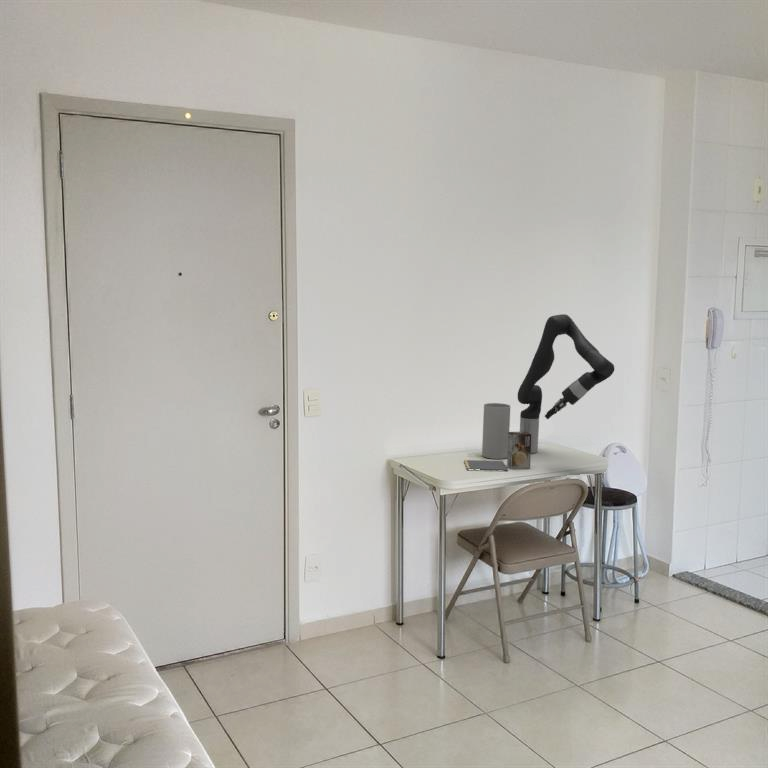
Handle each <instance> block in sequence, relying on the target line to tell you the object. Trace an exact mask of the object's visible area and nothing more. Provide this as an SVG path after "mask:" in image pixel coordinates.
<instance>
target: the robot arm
mask: <svg viewBox="0 0 768 768" xmlns="http://www.w3.org/2000/svg"><path fill="white" fill-rule="evenodd" d="M562 335H563V336H564V335H567V336H568V337H570V339H571V340H572V342H573V344H574V348H575V351H576V353H577V354H578V355H579V356H580V357H581V358H582V359H583V360H584V361H586V363H588V364H589V366H590V368H591V369H593V370H592V371H587V372H586V371H585V373H583V374H581V375H580V377H579V378H577V379H576V380H574V381H572V383H570V385H568V386H567V387H566V388H565V389H564V390H563V391H562V392H561V396H562V398H561V397H560V398H559V399H558V400H557V401H556V402H555V403H554V404H553V406H552V408H550V409H549V410H548V411H547V412H546V414H544V418H545V419H546V420H549V419H551V417H553V415H556V414H557V413H558V412H561V410H562V409H564V408H566V407H567V405H568V404H567V403H569V404H570V405H572V406H573V405H575V404H576V403H577V402H579V400H581V399H582V398H584V396H585V395H586V394H587V393H588V392H589V391H590V390H592V389H593V388H594V387H595V386H597V385H598V384H600V383H602V382H604V381H606V380H607V379H609V378H610V377H611V376H612V375H613V374H614V372H615V365H614V364H613V363H612V362H611V360H609V359H607V358H606V357H605V356H604V355H602V353H600V351H599V350H598V348H596V347H595V346H594V345H593V343H591V342H590V341H589V340H588V339H587V337H585V336H584V334H583V332H582V331H581V330H580V328H579V327H578V326H577V324H576V323H575V322H574V320H573V318H571V317H570V315H568V314H561V313H560V314H555V315H552V316H549V317H548V319H547V320H546V321H545V324H544V329H543V331H542V335H541V338H540V341H539V345H538V347H537V349H536V352H535V354H534V356H533V359H532V361H531V364H530V366H529V369H528V371H527V373H526V375H525V377H524V379H523V381H522V382H521V384H520V386H519V389H518V391H517V402H519V403H520V404H522V405H528V406H527V407H526V408H525V409H522V410H521V411H520V416H519V421H520V422H519V432H528V433H530V434H531V454H537V453H538V450H539V448H538V447H539V431H540V414H541V412H542V403H543V390H542V388H541V387H540V385H537V384H536V383H538V382H539V381H540V380H541V379H542V378H543V377H544V376H546V375H547V374H548V373H549V371H550V370H551V368H552V366H553V363H554V362H555V361H554V360H555V350H554V347H553V346H554V343H555V341H556V339H557V337H558V336H562Z"/></svg>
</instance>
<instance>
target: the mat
mask: <svg viewBox="0 0 768 768" xmlns="http://www.w3.org/2000/svg"><path fill="white" fill-rule="evenodd" d="M464 462H465V463H464ZM463 463H464V465H465V464H466V465H465V468H466V467H467V468H466V470H467V469H480V470H507V471H506V472H508V471H509V470H508V466H507V465H506V464H505V462H504V461H503V460H478V459H477V460H474V459H472V460H470V459H464V460H463Z"/></svg>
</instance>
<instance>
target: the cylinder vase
mask: <svg viewBox="0 0 768 768" xmlns="http://www.w3.org/2000/svg"><path fill="white" fill-rule="evenodd" d="M482 421H483V423H482V425H483V426H482V443H481V444H482V445H481V455H482V457H484V458H485V457H486V459H489V458H490V459H489V460H503V459H507V452H508V432H510V427H511V426H510V425H511V424H510V423H511V422H510V421H511V405H510V404H506V403H498V402H495V403H494V402H491V403H490V402H489V403H488V402H487V403H484V404H483V420H482Z"/></svg>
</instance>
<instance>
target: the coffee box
mask: <svg viewBox="0 0 768 768" xmlns="http://www.w3.org/2000/svg"><path fill="white" fill-rule="evenodd" d="M531 454H532V453H531V434H530V433H528V432H520V431H509V432H508V452H507V458H506V459H507V460H506V467H507V468H510V469H511V470H519V469H520V470H522V469H531V459H532V457H531Z"/></svg>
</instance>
